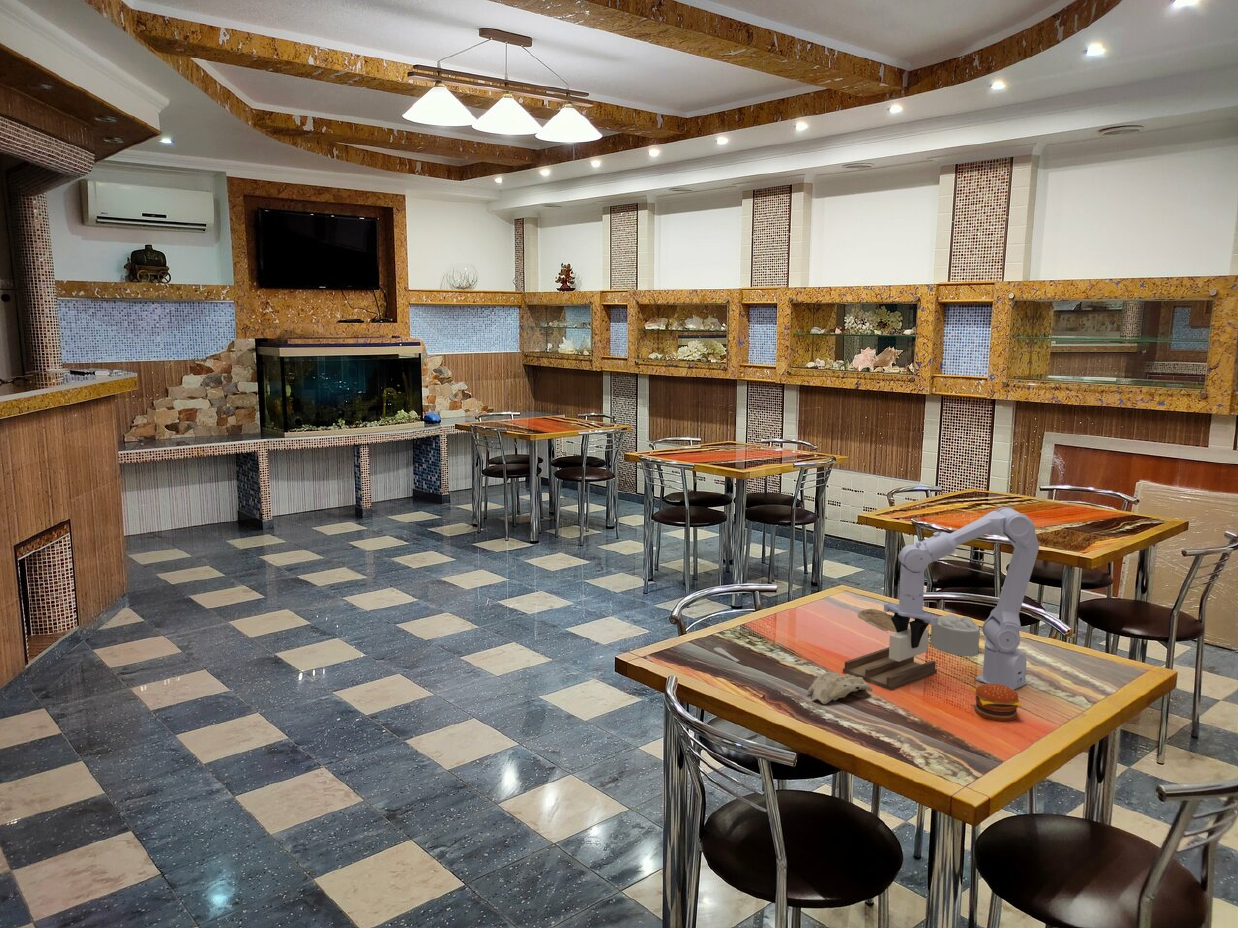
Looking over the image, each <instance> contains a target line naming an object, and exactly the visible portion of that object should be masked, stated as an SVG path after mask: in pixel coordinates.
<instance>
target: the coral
mask: <svg viewBox="0 0 1238 928" xmlns="http://www.w3.org/2000/svg"><path fill="white" fill-rule="evenodd" d="M859 690H861V691H862V690H863V691H866V690H867V691H869V692H873V687H872V685H870V684H869V683H868V682H866V681H865V680H863V678H862V677H856V676H851V675H849V674H846V673H845V674H844V675H841V674H839V673H838V672H833V671H826V672H823V673H822V674H817V675H815V678H814V679H813V681H812V683H811V685H810V686H809V687H808V689H807V691H808V693H809V694H812V695H811V702H815V701H817V700H818V701H819V702H820V703H822V704H823V705H826V704H828V703H829V702H831V701H832V700H833V701H835V702H836V700H838V699H841V698H846V696H847V695H849V694H850V693H852V692H857V691H859Z"/></svg>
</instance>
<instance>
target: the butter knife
mask: <svg viewBox="0 0 1238 928" xmlns="http://www.w3.org/2000/svg"><path fill="white" fill-rule="evenodd" d="M712 649H713V651H715V652H717V653H719V654H721V655H722V656H723V655H724V657H728V658H729V659H731V660H733V661H734V662H740V659H739V658H738V659H737V658H736V657H735V656H733V655H732V654H730V653H729V652H727V651H726V650H725V649H724V648H722V647H714V648H712Z"/></svg>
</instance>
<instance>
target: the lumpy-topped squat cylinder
mask: <svg viewBox="0 0 1238 928" xmlns="http://www.w3.org/2000/svg"><path fill="white" fill-rule="evenodd" d="M937 617H938V624H937V625H934V626H933V625H931V627H930V643H929V644H930V646H931V647H932V648H935V649H937V650H939V651H941V652H943V653H946V654H949V655H950V654H951V655H955V656H959V657H977V656H978V655H979V650H980V649H979V648H980V633H981V631H980V629H981V628H980V626H979V625H978V624H977V623H976V622H974V620H973V619H972V618H971V617H969V616H963V617H959V616H957V615H955V614H951V613H950V614H948V615H940V616H937Z"/></svg>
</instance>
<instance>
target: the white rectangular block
mask: <svg viewBox="0 0 1238 928" xmlns="http://www.w3.org/2000/svg"><path fill="white" fill-rule="evenodd" d="M888 643H889V644H888V645H889V646H888V647H889V658H890V659H892V660H895V661H898V662H900V661H902V660H905V659H908V658H911V657H914V658H915V657H917V656H919V655H922V654H925V653H927V652H928V646H929V628H926V629H925V631H924V633H923V635H922V637H921V640H920V643H919V646H918V647H917V648H912V647H911V629H910V628H908V630H904V631H901V632H898V633H897V632H894V633H893V634H890V635H889V642H888Z"/></svg>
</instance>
